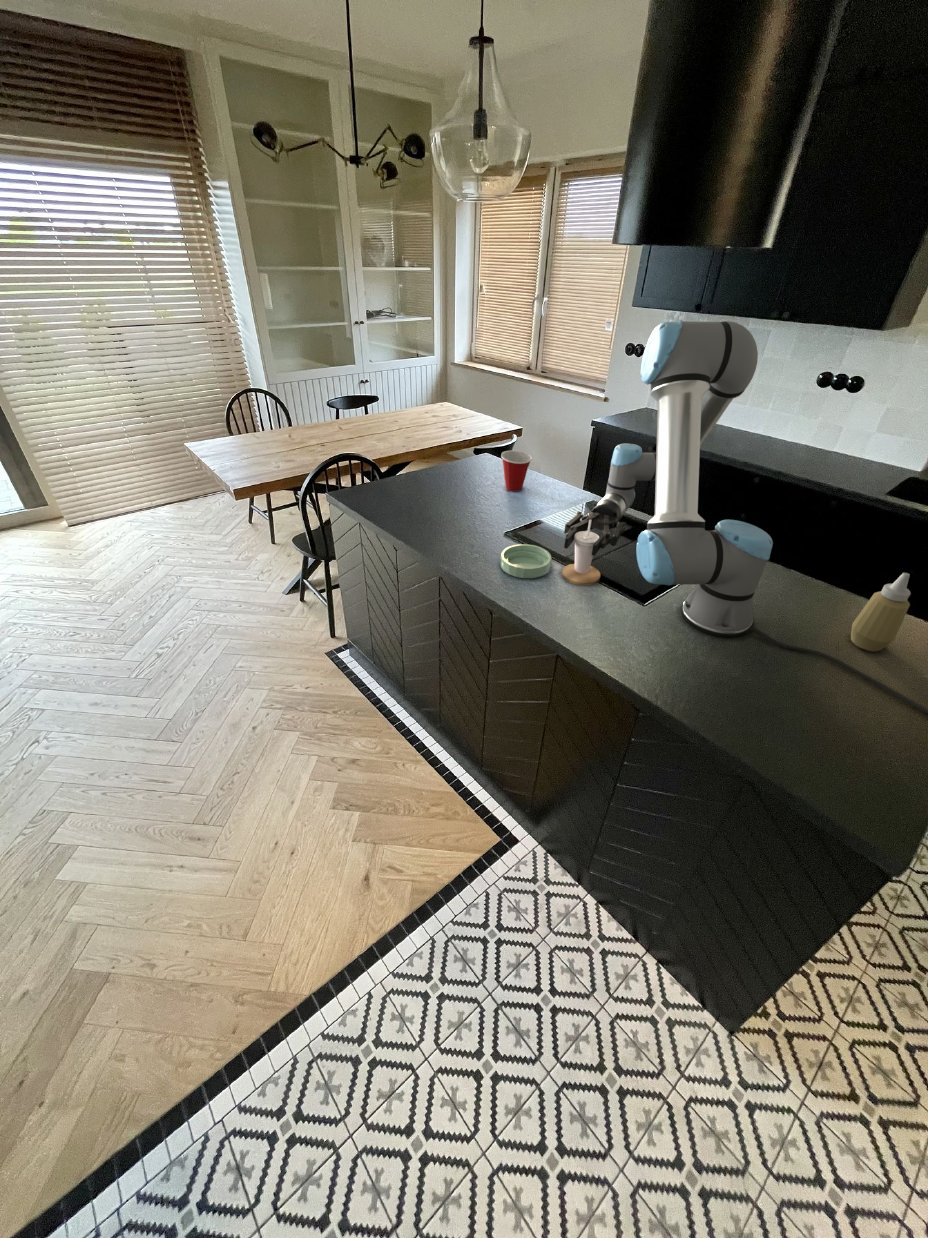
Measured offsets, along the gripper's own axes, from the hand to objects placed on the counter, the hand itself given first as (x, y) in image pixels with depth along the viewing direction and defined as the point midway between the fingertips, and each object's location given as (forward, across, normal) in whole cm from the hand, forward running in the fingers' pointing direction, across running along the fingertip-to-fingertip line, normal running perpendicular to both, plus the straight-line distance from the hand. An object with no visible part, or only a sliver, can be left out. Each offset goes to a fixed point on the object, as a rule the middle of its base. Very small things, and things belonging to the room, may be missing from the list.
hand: (579, 546), depth 130 cm
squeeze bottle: (-9, -65, -11) cm, 66 cm away
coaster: (-5, 0, -11) cm, 12 cm away
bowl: (-2, +15, -11) cm, 18 cm away
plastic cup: (-50, +40, -11) cm, 66 cm away
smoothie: (-5, 0, -9) cm, 11 cm away
